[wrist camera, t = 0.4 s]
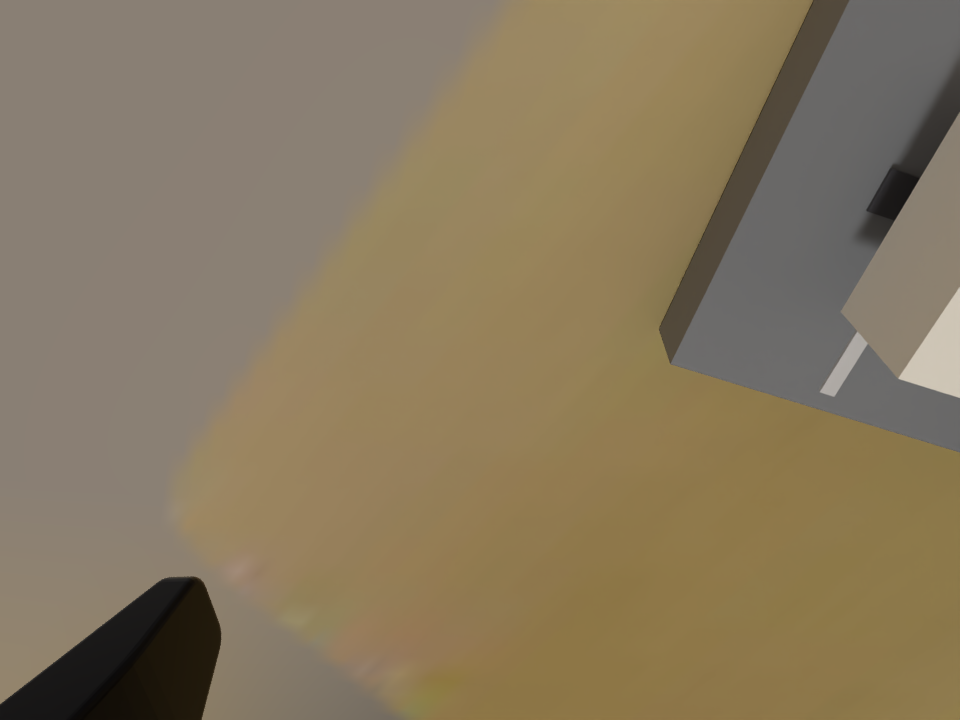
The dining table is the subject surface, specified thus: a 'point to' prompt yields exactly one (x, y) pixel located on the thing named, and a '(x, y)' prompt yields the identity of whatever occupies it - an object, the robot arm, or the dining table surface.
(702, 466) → the dining table surface
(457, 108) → the dining table surface
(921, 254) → the fader knob
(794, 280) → the mixer panel
